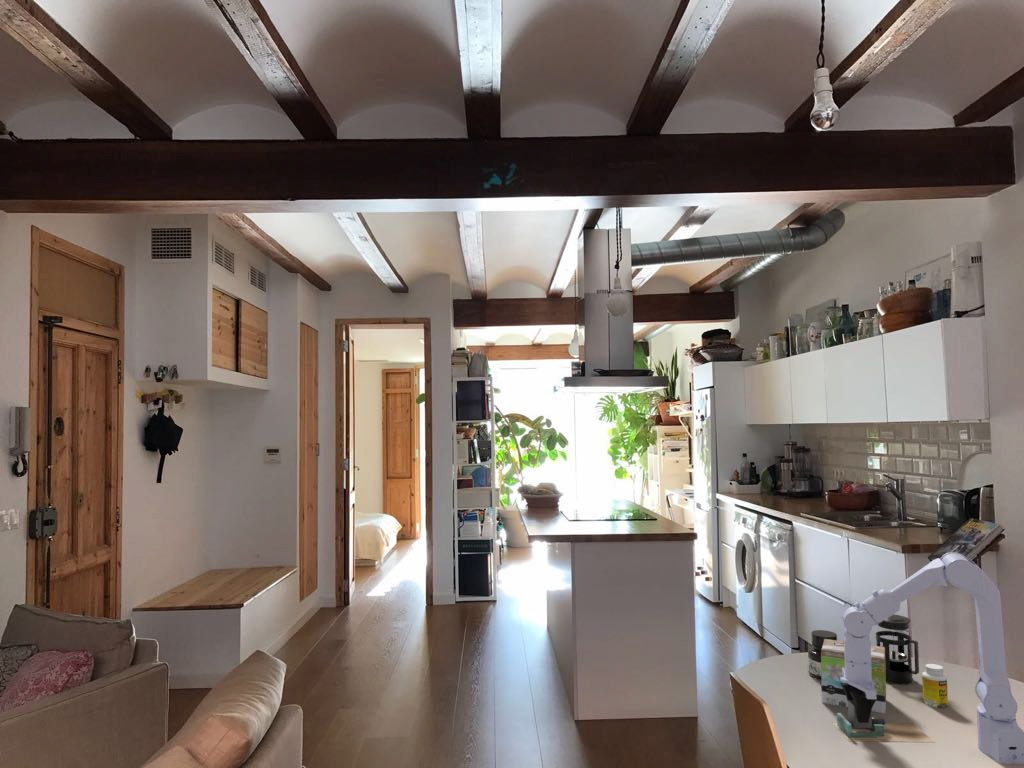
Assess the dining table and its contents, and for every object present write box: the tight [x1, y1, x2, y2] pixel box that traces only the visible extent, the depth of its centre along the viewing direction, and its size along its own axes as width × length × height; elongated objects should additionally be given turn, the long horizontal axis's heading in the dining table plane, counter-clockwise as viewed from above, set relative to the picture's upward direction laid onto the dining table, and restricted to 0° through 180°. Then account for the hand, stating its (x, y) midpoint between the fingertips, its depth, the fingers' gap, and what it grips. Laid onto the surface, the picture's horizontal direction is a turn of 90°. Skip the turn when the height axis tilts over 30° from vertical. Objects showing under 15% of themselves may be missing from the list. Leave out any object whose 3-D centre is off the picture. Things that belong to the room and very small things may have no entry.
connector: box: [847, 700, 886, 728], centre depth 170 cm, size 4×8×5 cm, turn 87°
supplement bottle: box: [921, 663, 949, 709], centre depth 186 cm, size 6×6×10 cm
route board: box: [832, 712, 935, 743], centre depth 170 cm, size 10×19×4 cm, turn 87°
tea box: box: [820, 639, 887, 714], centre depth 188 cm, size 15×10×15 cm, turn 62°
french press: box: [875, 614, 920, 685], centre depth 205 cm, size 12×9×23 cm
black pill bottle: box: [807, 629, 838, 680], centre depth 208 cm, size 10×9×12 cm
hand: (859, 718), depth 171 cm, fingers closed on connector, 4 cm apart
